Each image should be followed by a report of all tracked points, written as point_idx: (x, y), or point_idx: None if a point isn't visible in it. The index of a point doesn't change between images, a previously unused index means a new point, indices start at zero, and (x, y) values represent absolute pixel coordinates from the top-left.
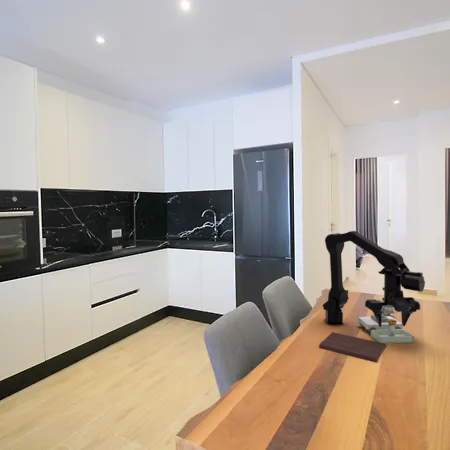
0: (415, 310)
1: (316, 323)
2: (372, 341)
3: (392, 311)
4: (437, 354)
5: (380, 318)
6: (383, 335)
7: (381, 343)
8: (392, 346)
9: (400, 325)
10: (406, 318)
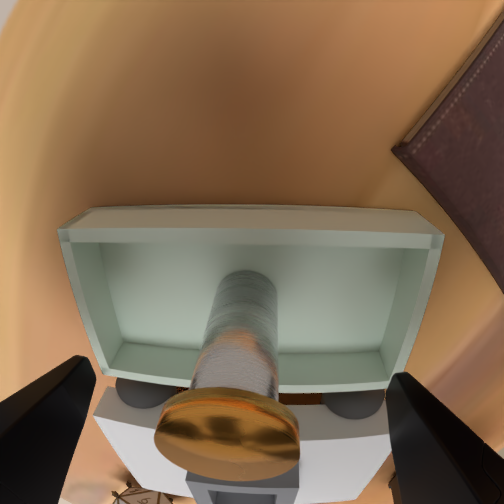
0: None
1: (494, 440)
2: (482, 218)
3: (118, 498)
4: (38, 13)
5: (471, 460)
6: (293, 342)
7: (439, 163)
8: (328, 137)
9: (110, 409)
10: (8, 417)
